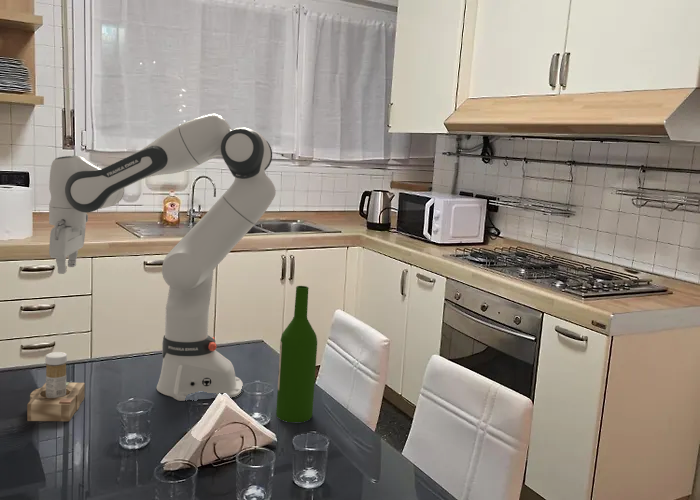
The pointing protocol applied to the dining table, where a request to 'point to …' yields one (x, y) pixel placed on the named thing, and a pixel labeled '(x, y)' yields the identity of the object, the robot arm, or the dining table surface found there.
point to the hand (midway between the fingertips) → (67, 269)
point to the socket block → (55, 404)
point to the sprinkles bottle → (56, 374)
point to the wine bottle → (297, 364)
